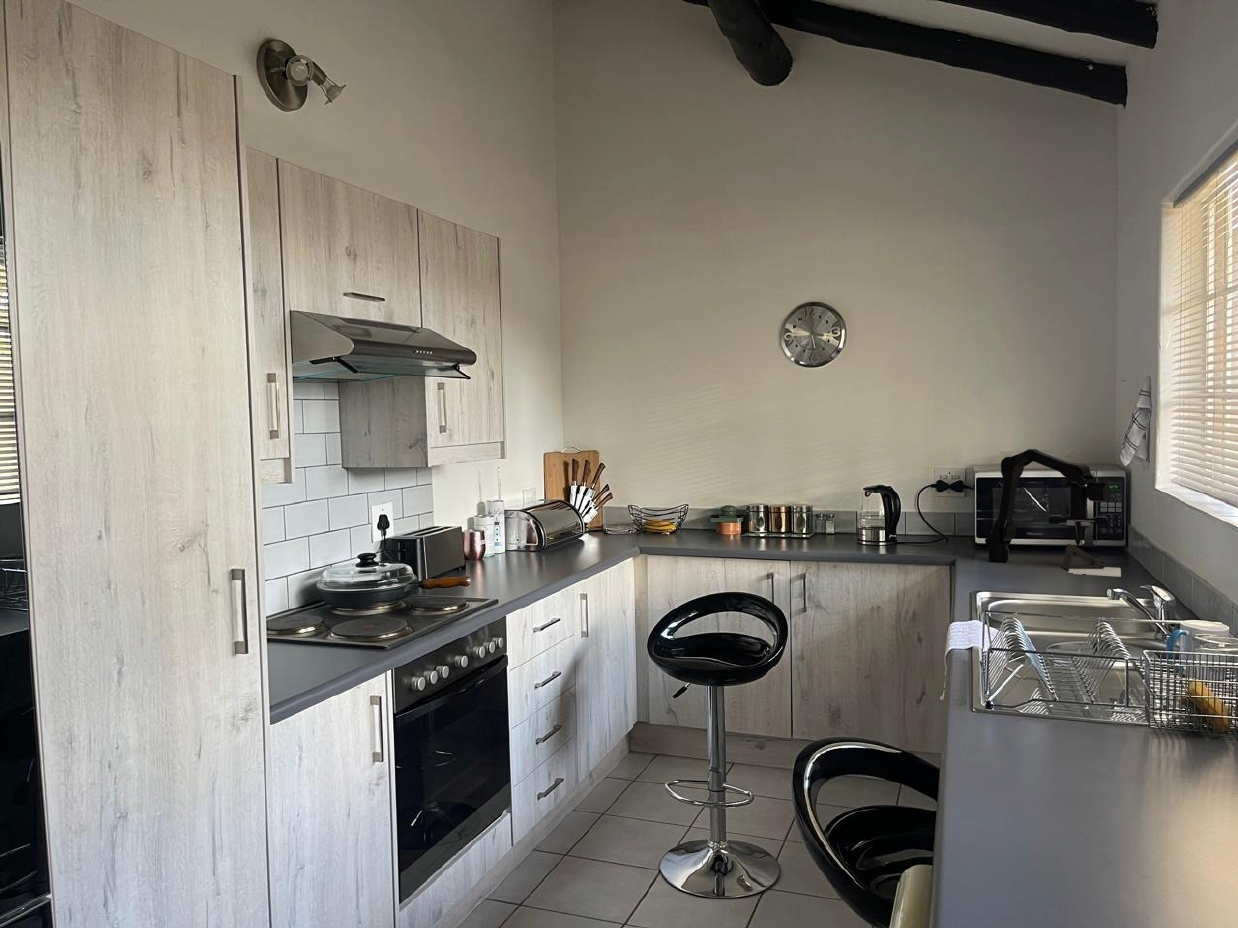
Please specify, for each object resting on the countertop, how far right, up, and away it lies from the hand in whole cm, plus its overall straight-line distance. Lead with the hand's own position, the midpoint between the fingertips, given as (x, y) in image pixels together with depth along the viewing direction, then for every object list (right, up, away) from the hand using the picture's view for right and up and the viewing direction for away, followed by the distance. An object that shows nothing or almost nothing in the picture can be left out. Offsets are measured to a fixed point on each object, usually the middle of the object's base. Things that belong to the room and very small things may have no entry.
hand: (1077, 544), depth 343 cm
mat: (+5, -9, -2) cm, 11 cm away
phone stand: (-2, -4, +4) cm, 6 cm away
